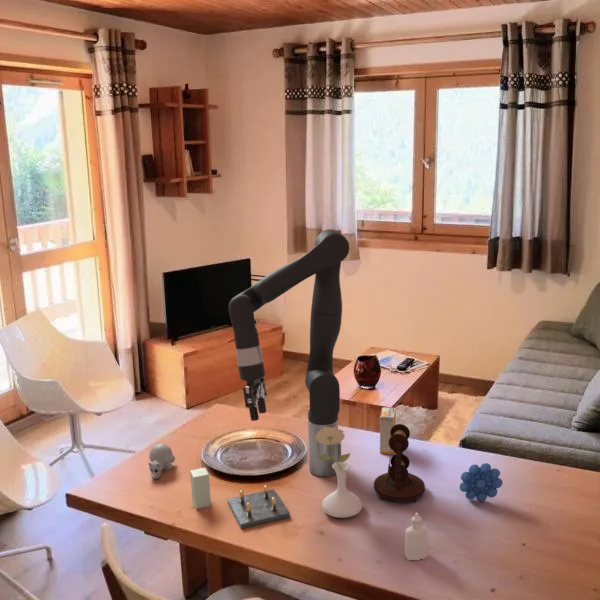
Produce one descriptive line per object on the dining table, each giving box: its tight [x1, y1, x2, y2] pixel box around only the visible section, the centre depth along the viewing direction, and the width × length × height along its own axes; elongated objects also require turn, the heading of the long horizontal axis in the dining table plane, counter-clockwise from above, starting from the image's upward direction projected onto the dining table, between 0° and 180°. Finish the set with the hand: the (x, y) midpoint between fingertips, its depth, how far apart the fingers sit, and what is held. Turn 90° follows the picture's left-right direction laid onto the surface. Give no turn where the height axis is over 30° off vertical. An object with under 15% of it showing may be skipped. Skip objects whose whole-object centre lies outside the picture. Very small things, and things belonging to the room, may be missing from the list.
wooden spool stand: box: [373, 423, 426, 503], centre depth 197 cm, size 15×15×20 cm
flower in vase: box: [315, 427, 363, 519], centre depth 188 cm, size 13×11×25 cm
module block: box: [189, 467, 212, 510], centre depth 195 cm, size 4×4×10 cm
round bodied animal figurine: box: [148, 443, 176, 480], centre depth 214 cm, size 7×12×8 cm, turn 167°
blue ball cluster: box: [459, 462, 503, 503], centre depth 192 cm, size 12×7×12 cm, turn 73°
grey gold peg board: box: [227, 484, 291, 530], centre depth 191 cm, size 14×14×5 cm
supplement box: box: [379, 407, 397, 455], centre depth 224 cm, size 8×5×13 cm, turn 168°
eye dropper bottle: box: [404, 512, 429, 561], centre depth 167 cm, size 4×6×12 cm
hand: (259, 416), depth 199 cm, fingers open, 8 cm apart
